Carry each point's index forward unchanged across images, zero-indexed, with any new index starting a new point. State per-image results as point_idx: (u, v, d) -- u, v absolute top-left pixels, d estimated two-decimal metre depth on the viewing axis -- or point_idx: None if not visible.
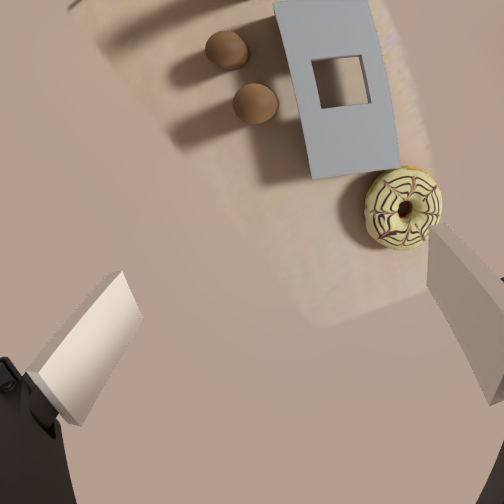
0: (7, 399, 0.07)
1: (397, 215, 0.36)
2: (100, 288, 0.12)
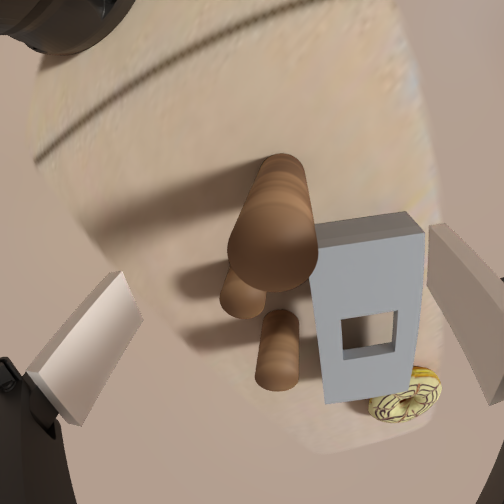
0: (7, 399, 0.07)
1: (397, 404, 0.36)
2: (100, 288, 0.12)
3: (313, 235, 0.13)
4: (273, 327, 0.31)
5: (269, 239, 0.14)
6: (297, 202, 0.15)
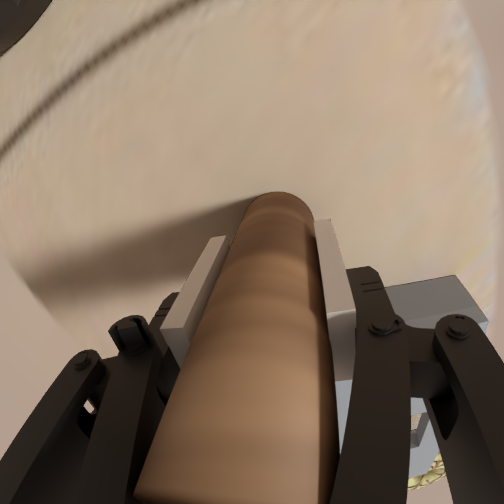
0: (130, 366, 0.08)
1: None
2: (210, 249, 0.13)
3: None
4: None
5: None
6: (303, 402, 0.05)
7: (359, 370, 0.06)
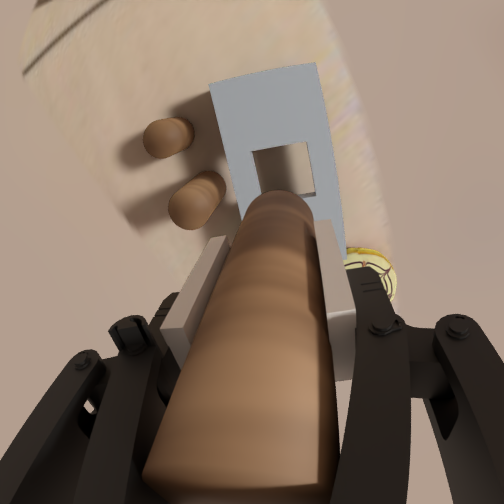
0: (130, 366, 0.08)
1: None
2: (210, 249, 0.13)
3: None
4: (194, 177, 0.33)
5: (229, 492, 0.05)
6: (304, 383, 0.06)
7: (359, 370, 0.06)
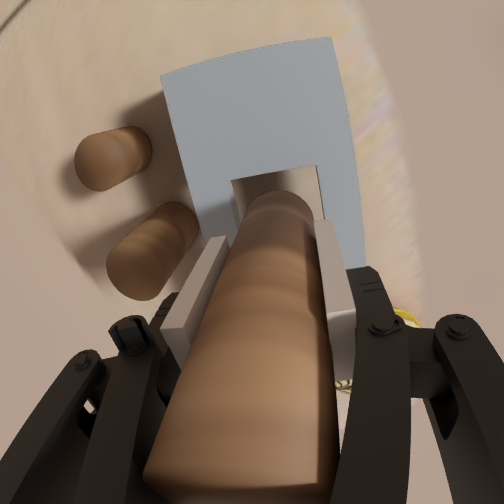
0: (130, 366, 0.08)
1: None
2: (210, 249, 0.13)
3: None
4: (150, 216, 0.22)
5: (229, 492, 0.05)
6: (304, 383, 0.06)
7: (359, 370, 0.06)
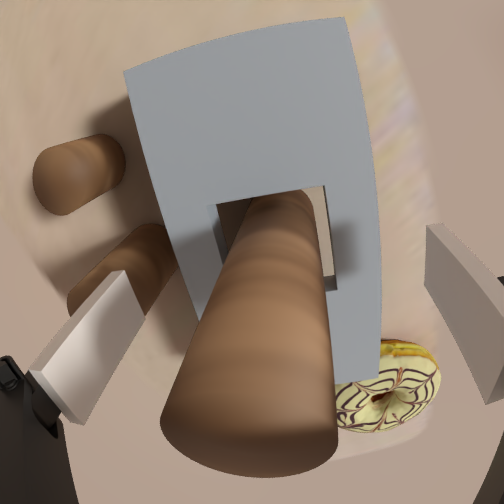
0: (9, 398, 0.07)
1: (368, 404, 0.23)
2: (102, 286, 0.12)
3: (331, 428, 0.05)
4: (122, 242, 0.18)
5: (238, 429, 0.06)
6: (303, 333, 0.07)
7: None
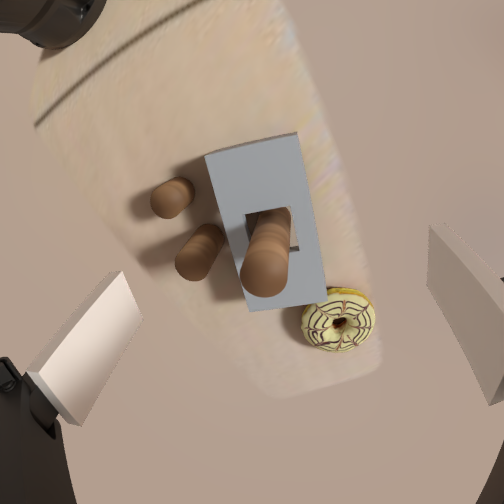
0: (7, 399, 0.07)
1: (331, 328, 0.43)
2: (100, 288, 0.12)
3: (284, 267, 0.26)
4: (196, 232, 0.39)
5: (261, 270, 0.26)
6: (277, 248, 0.27)
7: None
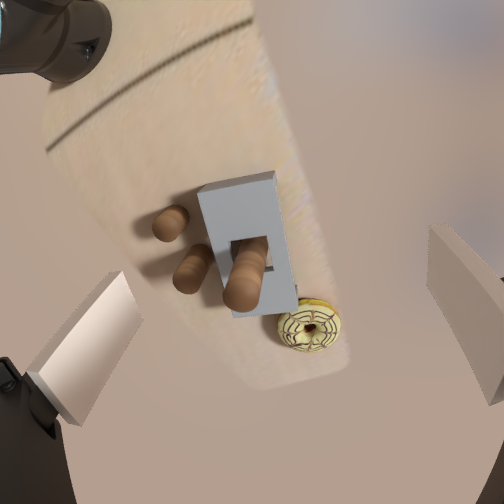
0: (7, 399, 0.07)
1: (303, 332, 0.52)
2: (100, 288, 0.12)
3: (256, 291, 0.34)
4: (190, 253, 0.47)
5: (239, 292, 0.34)
6: (252, 275, 0.36)
7: None
